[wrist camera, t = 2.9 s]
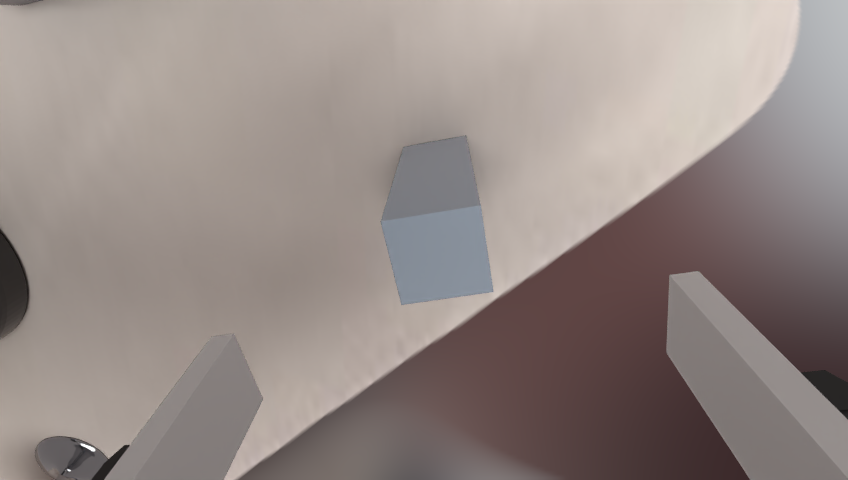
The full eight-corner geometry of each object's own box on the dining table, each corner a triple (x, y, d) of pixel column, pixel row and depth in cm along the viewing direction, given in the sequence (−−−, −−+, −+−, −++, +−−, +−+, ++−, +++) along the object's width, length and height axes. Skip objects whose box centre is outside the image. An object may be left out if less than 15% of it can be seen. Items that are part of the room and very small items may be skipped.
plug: (415, 204, 31) (401, 304, 20) (403, 146, 29) (380, 221, 18) (475, 195, 30) (493, 292, 19) (466, 135, 29) (480, 205, 18)
